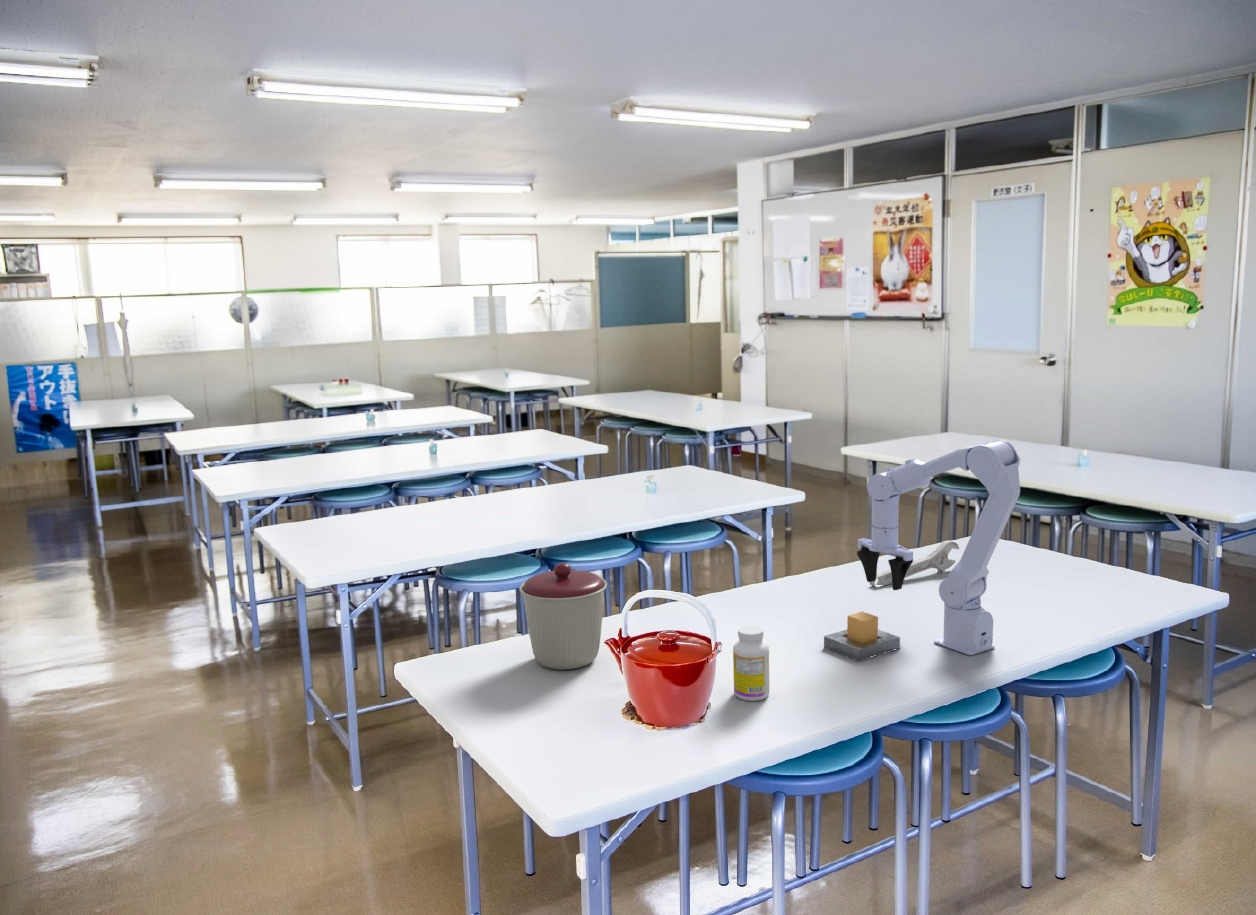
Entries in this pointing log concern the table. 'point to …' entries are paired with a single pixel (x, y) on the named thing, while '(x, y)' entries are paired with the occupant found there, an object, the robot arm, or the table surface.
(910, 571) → the wrench
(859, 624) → the square block
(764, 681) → the supplement bottle
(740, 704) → the table surface
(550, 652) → the canister
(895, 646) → the square hole plate
